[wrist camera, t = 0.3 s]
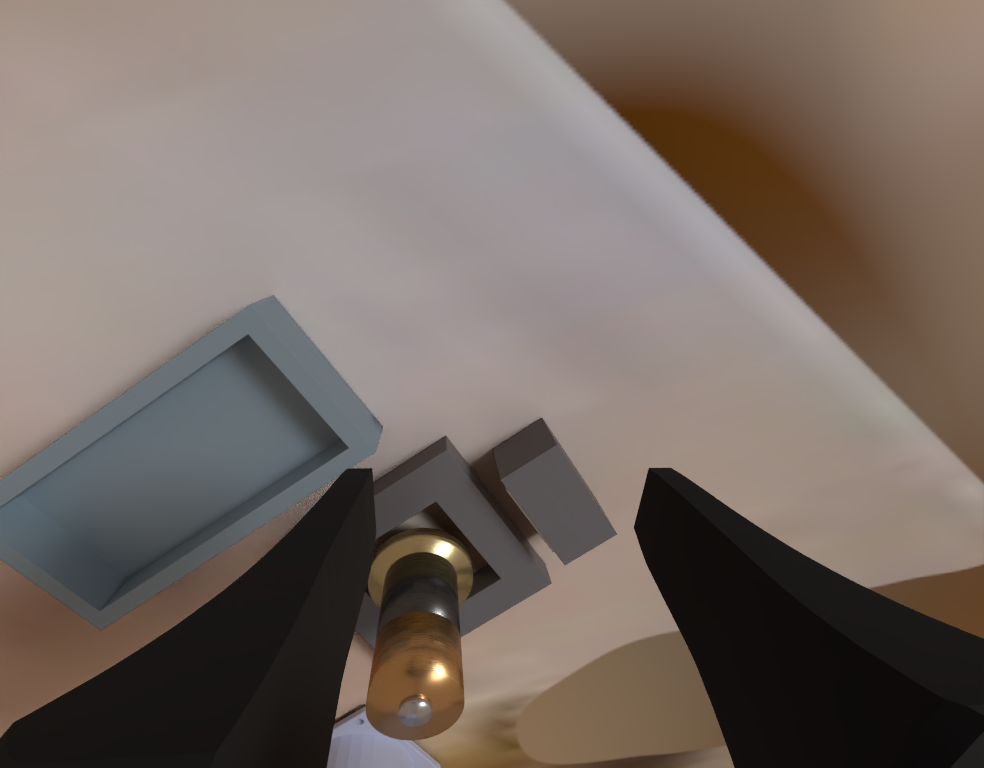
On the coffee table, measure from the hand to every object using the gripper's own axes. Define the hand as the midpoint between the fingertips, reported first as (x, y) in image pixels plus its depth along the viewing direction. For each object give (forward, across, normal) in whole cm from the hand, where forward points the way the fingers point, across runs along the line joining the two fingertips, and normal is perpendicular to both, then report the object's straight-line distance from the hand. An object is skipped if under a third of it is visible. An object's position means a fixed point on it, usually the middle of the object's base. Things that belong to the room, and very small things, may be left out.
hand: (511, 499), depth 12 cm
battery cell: (+7, +3, +11) cm, 13 cm away
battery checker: (+9, +1, +10) cm, 14 cm away
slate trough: (+10, +13, +5) cm, 17 cm away
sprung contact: (+8, +3, +11) cm, 14 cm away
